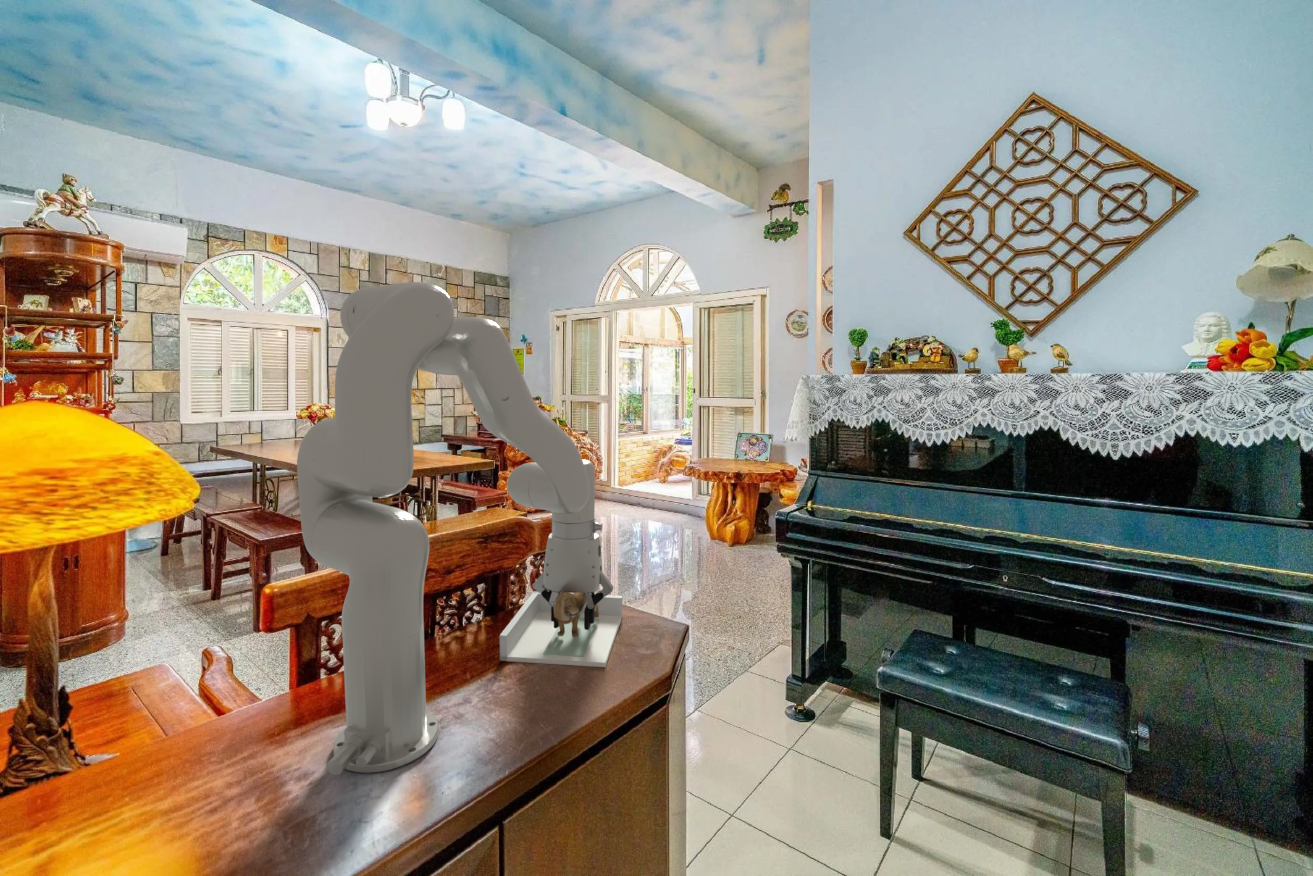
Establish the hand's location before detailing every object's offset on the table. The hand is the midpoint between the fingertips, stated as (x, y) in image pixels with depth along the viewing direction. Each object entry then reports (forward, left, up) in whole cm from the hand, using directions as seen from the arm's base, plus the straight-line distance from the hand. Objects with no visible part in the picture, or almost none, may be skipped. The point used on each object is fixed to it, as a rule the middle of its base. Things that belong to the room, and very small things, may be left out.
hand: (572, 624), depth 108 cm
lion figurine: (+1, -1, -1) cm, 2 cm away
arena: (+1, +2, -3) cm, 3 cm away
